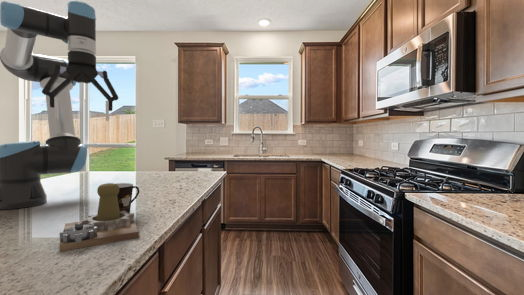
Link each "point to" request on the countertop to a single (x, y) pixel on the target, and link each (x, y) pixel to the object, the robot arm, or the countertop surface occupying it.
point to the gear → (78, 233)
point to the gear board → (105, 231)
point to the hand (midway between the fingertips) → (83, 119)
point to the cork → (108, 202)
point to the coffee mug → (126, 196)
